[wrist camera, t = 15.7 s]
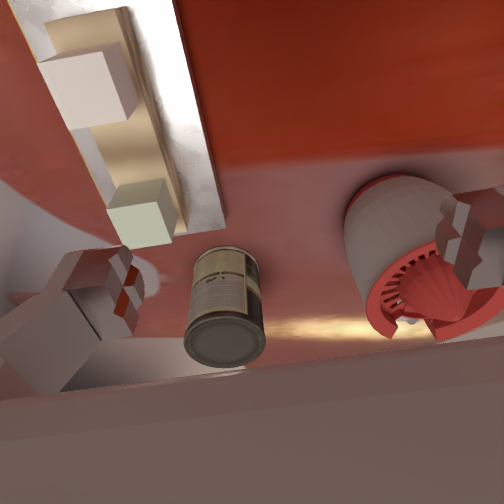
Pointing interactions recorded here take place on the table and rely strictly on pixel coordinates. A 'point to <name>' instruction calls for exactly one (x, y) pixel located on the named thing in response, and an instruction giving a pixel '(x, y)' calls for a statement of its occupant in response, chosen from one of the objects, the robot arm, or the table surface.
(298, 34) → the table surface
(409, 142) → the table surface
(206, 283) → the coffee can
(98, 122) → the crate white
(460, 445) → the robot arm
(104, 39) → the checkered beige brown block
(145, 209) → the pale green cube
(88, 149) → the dock
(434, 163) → the table surface
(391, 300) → the citrus juicer
